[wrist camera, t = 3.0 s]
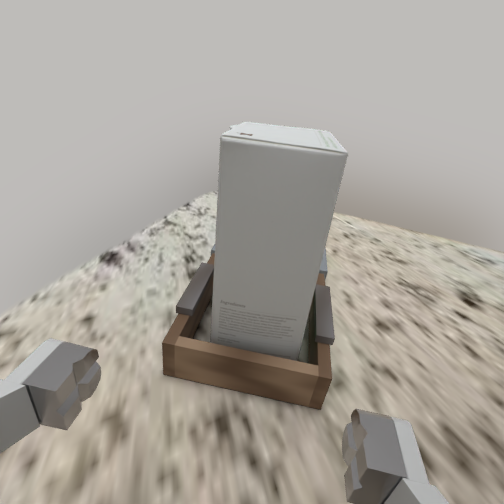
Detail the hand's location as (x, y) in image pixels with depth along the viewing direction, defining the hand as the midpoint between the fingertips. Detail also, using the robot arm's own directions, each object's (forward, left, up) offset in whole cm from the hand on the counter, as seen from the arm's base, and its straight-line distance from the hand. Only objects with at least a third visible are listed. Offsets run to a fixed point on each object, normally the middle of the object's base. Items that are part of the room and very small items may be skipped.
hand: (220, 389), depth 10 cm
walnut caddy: (0, -13, -9) cm, 16 cm away
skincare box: (0, -13, -10) cm, 16 cm away
